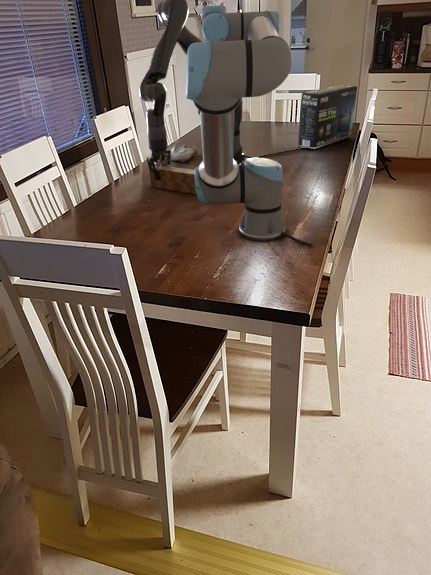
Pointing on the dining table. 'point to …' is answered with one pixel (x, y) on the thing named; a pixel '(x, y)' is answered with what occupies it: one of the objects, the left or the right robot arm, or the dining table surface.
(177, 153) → the fossil
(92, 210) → the dining table surface
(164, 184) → the bar
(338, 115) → the router box
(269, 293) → the dining table surface
